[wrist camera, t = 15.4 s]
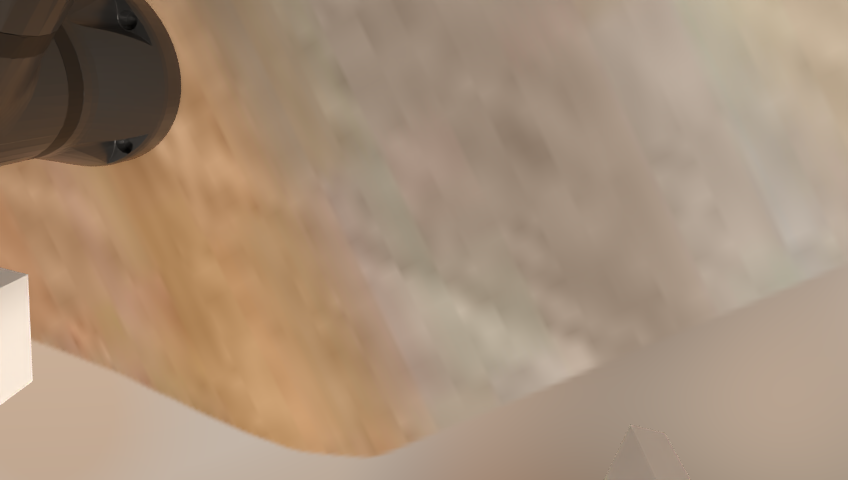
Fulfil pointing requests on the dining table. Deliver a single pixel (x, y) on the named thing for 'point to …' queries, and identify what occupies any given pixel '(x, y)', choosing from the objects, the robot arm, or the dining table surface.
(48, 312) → the dining table surface
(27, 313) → the robot arm
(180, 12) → the dining table surface
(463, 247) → the dining table surface
